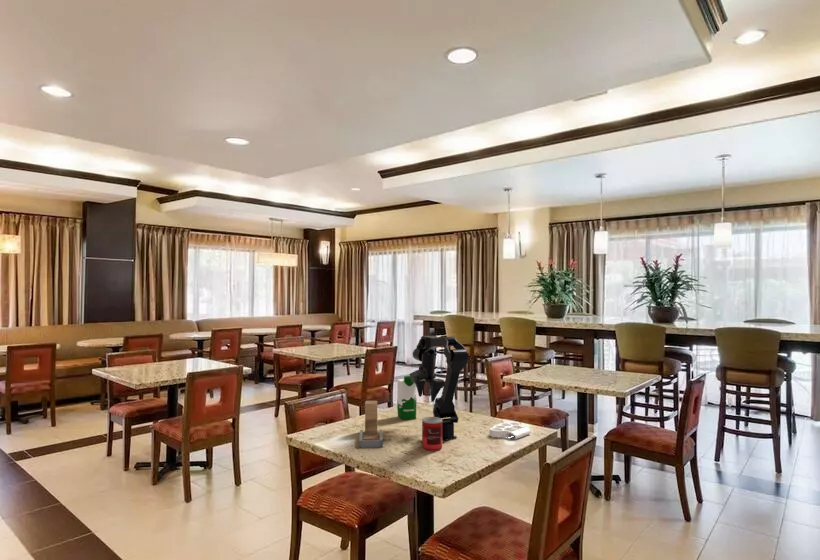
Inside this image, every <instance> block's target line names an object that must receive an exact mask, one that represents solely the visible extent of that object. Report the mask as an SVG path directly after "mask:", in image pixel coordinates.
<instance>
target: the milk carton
mask: <svg viewBox="0 0 820 560" xmlns="http://www.w3.org/2000/svg"><path fill="white" fill-rule="evenodd" d="M396 383H397V384H396V385H397V393H396V394H397V397H396V398H397V399H396V400H397V403H396V404H397V406H396V407H397V417H398V418H399V419H400V420H402V421H406V420H416V419H417V387H416V384H415V383H414V382H412V381H411V379H410V375H405V376H404V377H403V378H401V379H400V378H398V379H396Z"/></svg>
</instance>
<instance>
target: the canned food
mask: <svg viewBox="0 0 820 560" xmlns="http://www.w3.org/2000/svg"><path fill="white" fill-rule="evenodd" d="M442 419H443V418H438V417H434V416H426V417H423V418H422V419H421V420H422V421H421V440H422V441H421V443H422V444H421V445H422V449H423V450H425V451H430V452H437V451H441V450H442V448H443V440H442Z"/></svg>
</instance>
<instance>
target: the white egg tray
mask: <svg viewBox="0 0 820 560" xmlns="http://www.w3.org/2000/svg"><path fill="white" fill-rule="evenodd" d="M531 433H532V431H531V429H530V428H528V427H526V426H523V425H521V423H520V422H516V421H508V422H501V423H498V424H494V425H493V426H492V427H490V428H489V437H490V436H492V437H491V438H493V437H507V438H506V439H508V437H511V436H515V437H514V439H515V440H517V439H519V438H523V437H525V436H529V435H530V434H531Z"/></svg>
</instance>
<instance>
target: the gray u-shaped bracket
mask: <svg viewBox="0 0 820 560" xmlns="http://www.w3.org/2000/svg"><path fill="white" fill-rule="evenodd" d="M363 435H364V430H363V429H360V430H359V439H358V440H359V441H358V448H360V447H361V448H384V447H383V446H384V444H383V442H384V440H383V429H379V438H378V437H375V438H374V437H373V438H367V437H366V438H365V437H363Z"/></svg>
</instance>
